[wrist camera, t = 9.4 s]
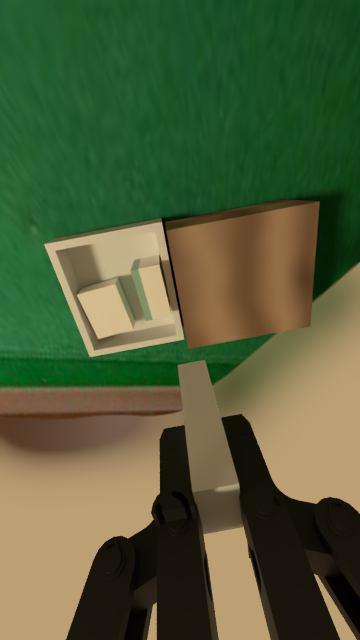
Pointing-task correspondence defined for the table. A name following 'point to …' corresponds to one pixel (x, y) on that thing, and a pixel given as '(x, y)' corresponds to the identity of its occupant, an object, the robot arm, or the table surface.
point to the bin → (111, 261)
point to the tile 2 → (151, 287)
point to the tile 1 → (107, 307)
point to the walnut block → (245, 270)
